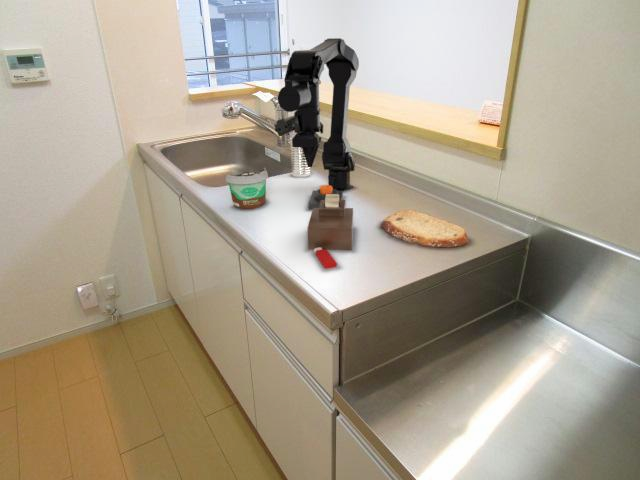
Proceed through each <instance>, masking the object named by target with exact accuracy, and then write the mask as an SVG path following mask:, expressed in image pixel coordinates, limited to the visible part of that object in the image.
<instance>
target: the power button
mask: <svg viewBox="0 0 640 480" xmlns="http://www.w3.org/2000/svg"><path fill="white" fill-rule="evenodd" d="M319 189H320V194H331V193H332V186H330V185H328V184H323V185H320V186H319Z"/></svg>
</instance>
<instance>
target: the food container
mask: <svg viewBox="0 0 640 480" xmlns="http://www.w3.org/2000/svg"><path fill="white" fill-rule="evenodd" d="M268 178H269V174H268V171H267V168H266V167H263V170H258V171H246V172H243V173H239V174H236V175H231V174H228V173H226V176H225V182H226V183H228V187H229V192H230V195H231V200H232V205H233V207H234V208H235V209H237V210H244V211H245V210H246V211H248V210H249V211H250V210H255V209H258V208H261V207H263V206H265V205H266V195H267V194H266V193H267V191H266V188H267V185H266V184H267V179H268Z"/></svg>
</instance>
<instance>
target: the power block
mask: <svg viewBox="0 0 640 480" xmlns="http://www.w3.org/2000/svg"><path fill="white" fill-rule="evenodd" d="M331 194H339V200H344V199H343V197H344V191H337V190H336V189H332V193H331ZM325 197H326V194H320V188H318V189H316V190H312V192H311V196H310V198H309V202H308V210H309V211H312V210H313V208H319V206H320V202H321V200H325Z"/></svg>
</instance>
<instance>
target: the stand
mask: <svg viewBox="0 0 640 480" xmlns="http://www.w3.org/2000/svg"><path fill="white" fill-rule="evenodd" d="M353 234H354V208H353V207H346V199H342V200H339V207H325V200H321V202H320V206H319V208H313V210H311V214H310V216H309V221H308V225H307V247H308V248H307V249H308V251H309V250H311V251H314V249H315V248H319V247H320V248H325V249H326V250H327V251H353V237H354V235H353Z"/></svg>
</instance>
